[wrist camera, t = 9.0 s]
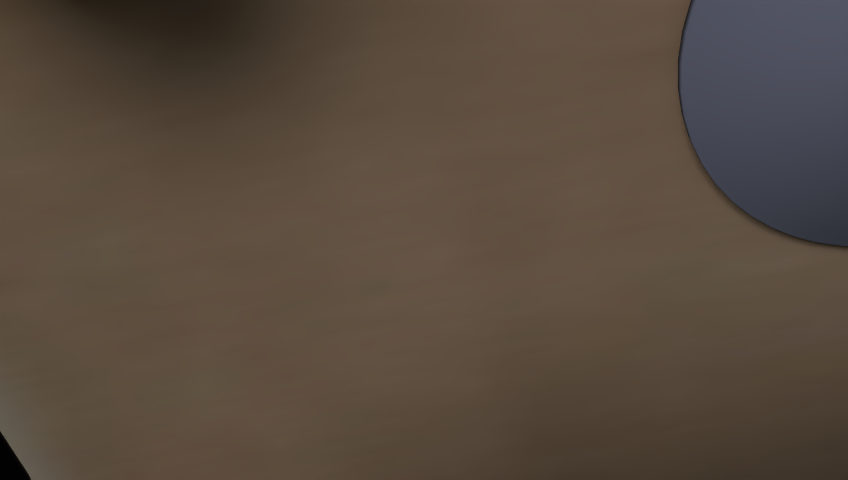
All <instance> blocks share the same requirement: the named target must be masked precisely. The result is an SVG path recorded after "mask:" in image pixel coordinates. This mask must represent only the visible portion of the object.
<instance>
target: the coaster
mask: <svg viewBox="0 0 848 480" xmlns="http://www.w3.org/2000/svg"><path fill="white" fill-rule="evenodd" d="M678 90H679V97H680V105H681V112H682V115H683V119H684V122H685V126H686V129H687V132H688V136H689V138H690V140H691V142H692V144H693V146H694V148H695V151H696V153H697V155H698V157H699V159H700V161H701V163H702V164H703V166H704V167H705V169H706V170H707V172H708V173H709V175H710V176H711V178H712V179H713V181H714V182H715V183H716V185H717V186H718V187H719V188H720V189H721V190H722V191H723V192H724V193H725V194H726V195H727V196H728V197H729V198H730V199H731V201H732V202H734V203H735V204H736V205H738V206H739V207H740V208H741V209H743V210H744V211H745V212H747V213H748V214H749V215H751V216H752V217H754V218H756V219H757V220H759V221H761V222H763V223H765V224H766V225H768V226H770V227H772V228H774V229H777V230H779V231H782V232H784V233H787V234H789V235H792V236H794V237H798V238H802V239H806V240H810V241H814V242H818V243H824V244H832V245H840V246H848V0H691V2H690V6H689V9H688V13H687V16H686V20H685V23H684V27H683V30H682V37H681V44H680V51H679V57H678Z"/></svg>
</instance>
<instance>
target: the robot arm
mask: <svg viewBox="0 0 848 480" xmlns="http://www.w3.org/2000/svg"><path fill="white" fill-rule="evenodd" d="M0 480H31V478H30V476H29V474H28V473H27V471H26V470H25V468H24V467H23V465H22V464H21V462H20V461H19V459H18V458H17V456H16V455H15V453H14V451H13V450H12V448H11V447H10V445H9V444H8V442H7V441H6V439H5V438H4V436H3V435H2V433H1V432H0Z"/></svg>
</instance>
